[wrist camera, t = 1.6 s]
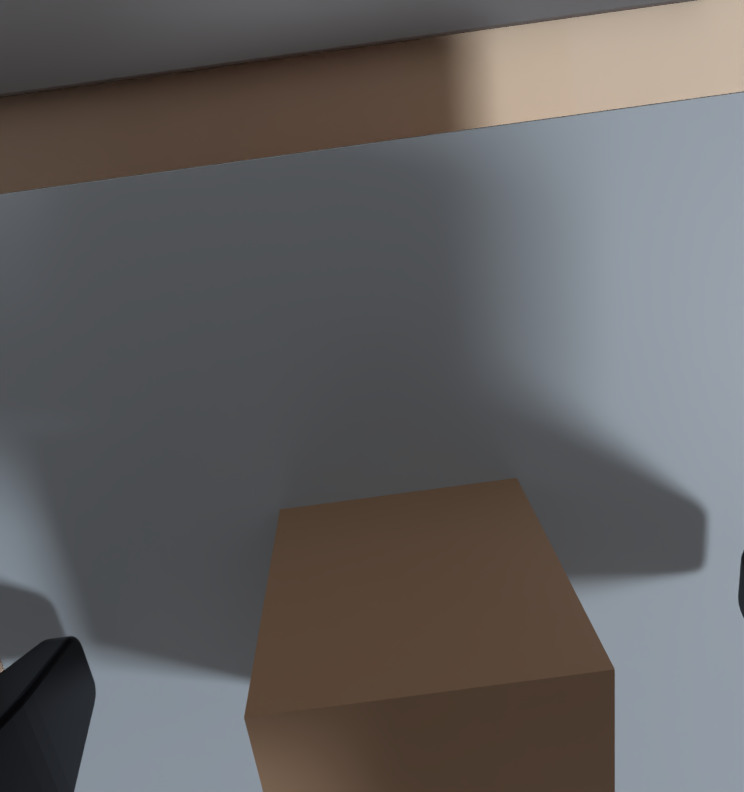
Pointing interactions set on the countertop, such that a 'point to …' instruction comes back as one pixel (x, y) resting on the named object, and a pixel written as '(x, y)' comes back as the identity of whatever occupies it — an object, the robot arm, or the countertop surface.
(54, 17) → the mat
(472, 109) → the countertop surface
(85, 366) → the lid
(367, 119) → the countertop surface
